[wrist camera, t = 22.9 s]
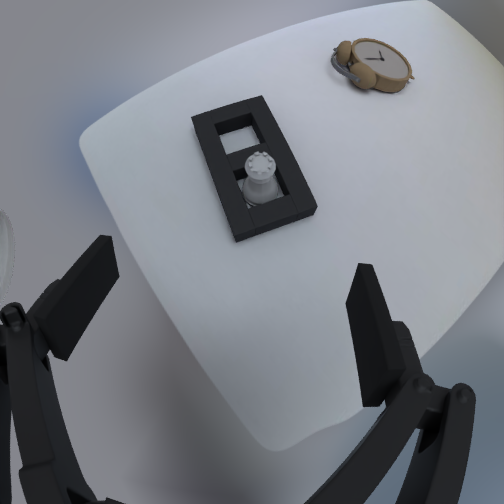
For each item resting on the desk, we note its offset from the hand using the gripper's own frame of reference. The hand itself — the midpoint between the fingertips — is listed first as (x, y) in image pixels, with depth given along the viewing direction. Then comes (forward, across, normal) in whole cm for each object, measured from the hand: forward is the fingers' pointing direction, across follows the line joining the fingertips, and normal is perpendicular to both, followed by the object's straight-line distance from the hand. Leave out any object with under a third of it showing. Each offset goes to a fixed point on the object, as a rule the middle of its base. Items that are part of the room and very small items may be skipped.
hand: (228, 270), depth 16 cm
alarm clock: (+42, -16, -13) cm, 47 cm away
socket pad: (+26, +1, +3) cm, 27 cm away
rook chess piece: (+24, 0, +5) cm, 25 cm away
